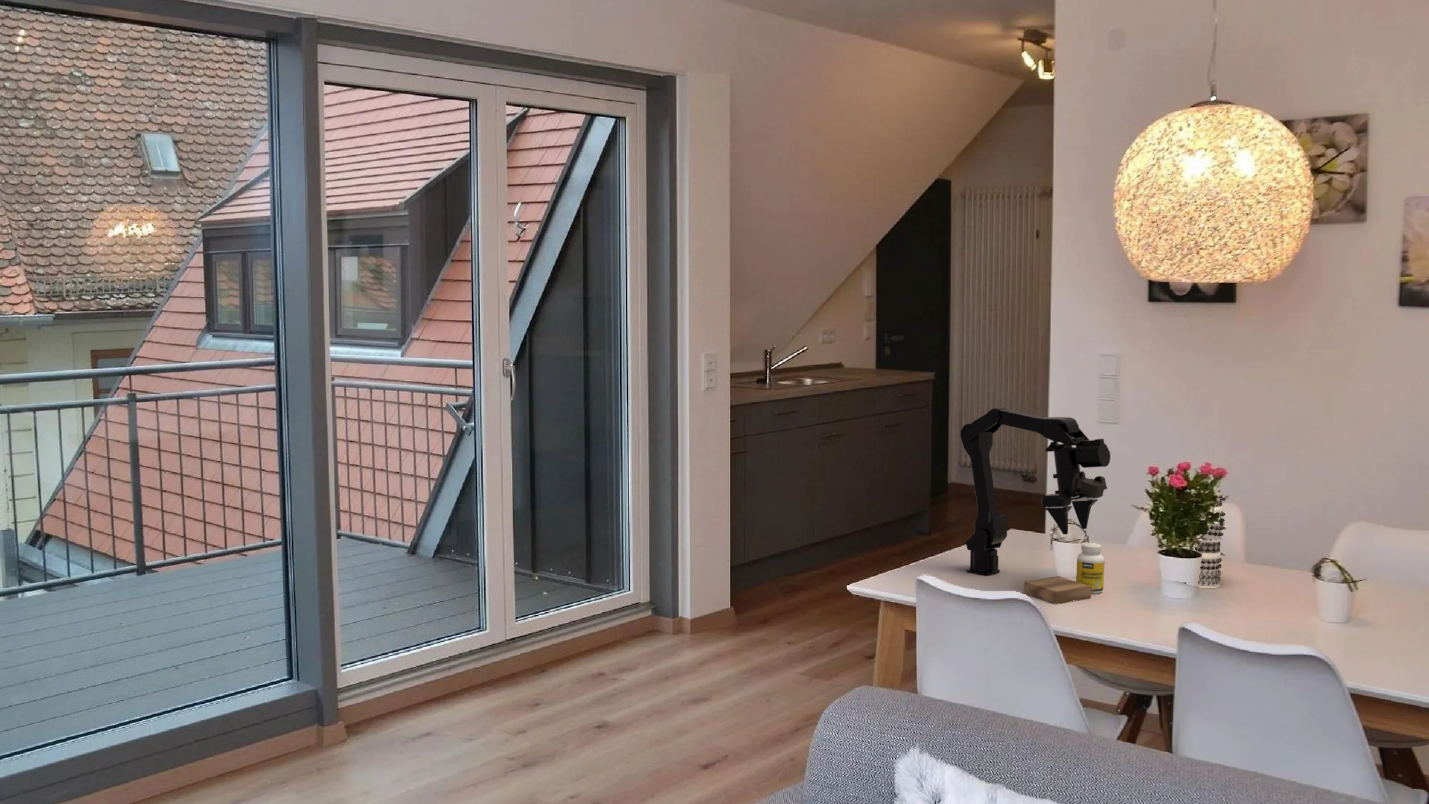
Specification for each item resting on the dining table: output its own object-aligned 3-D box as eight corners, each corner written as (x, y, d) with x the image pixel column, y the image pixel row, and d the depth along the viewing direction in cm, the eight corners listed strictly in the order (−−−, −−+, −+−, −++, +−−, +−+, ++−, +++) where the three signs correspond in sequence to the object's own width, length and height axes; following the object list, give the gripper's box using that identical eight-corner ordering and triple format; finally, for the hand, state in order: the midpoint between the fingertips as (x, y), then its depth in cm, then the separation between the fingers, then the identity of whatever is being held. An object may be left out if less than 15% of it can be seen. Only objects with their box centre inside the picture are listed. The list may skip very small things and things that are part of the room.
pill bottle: (1073, 592, 296) (1075, 546, 294) (1078, 586, 301) (1080, 541, 300) (1100, 595, 293) (1102, 548, 291) (1105, 589, 298) (1107, 543, 297)
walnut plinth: (1024, 593, 295) (1024, 581, 294) (1057, 588, 300) (1058, 576, 300) (1056, 604, 285) (1057, 591, 285) (1090, 598, 290) (1091, 586, 290)
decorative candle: (1192, 589, 299) (1196, 489, 297) (1176, 579, 308) (1181, 483, 306) (1228, 588, 299) (1233, 489, 297) (1212, 579, 309) (1216, 483, 306)
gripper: (1078, 471, 284) (1086, 537, 284) (1116, 463, 297) (1123, 525, 297) (1036, 473, 292) (1044, 537, 292) (1075, 465, 305) (1082, 526, 305)
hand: (1075, 531), depth 296 cm, fingers open, 9 cm apart
